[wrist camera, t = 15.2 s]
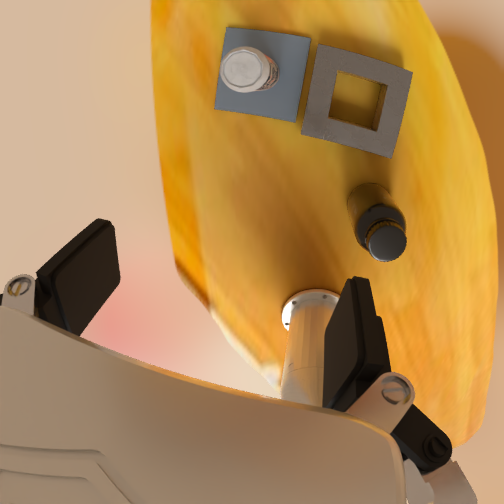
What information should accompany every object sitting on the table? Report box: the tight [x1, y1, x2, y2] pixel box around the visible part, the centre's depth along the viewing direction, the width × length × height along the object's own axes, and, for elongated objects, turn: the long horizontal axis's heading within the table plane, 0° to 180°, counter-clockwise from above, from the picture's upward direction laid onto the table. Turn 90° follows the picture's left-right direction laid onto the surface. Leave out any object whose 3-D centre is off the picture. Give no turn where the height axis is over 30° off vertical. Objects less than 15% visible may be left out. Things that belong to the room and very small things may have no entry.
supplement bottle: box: [347, 183, 407, 262], centre depth 36 cm, size 7×7×12 cm
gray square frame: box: [301, 44, 413, 159], centre depth 32 cm, size 12×12×4 cm
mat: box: [214, 27, 311, 122], centre depth 34 cm, size 12×11×1 cm
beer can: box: [220, 46, 280, 93], centre depth 29 cm, size 5×5×12 cm
